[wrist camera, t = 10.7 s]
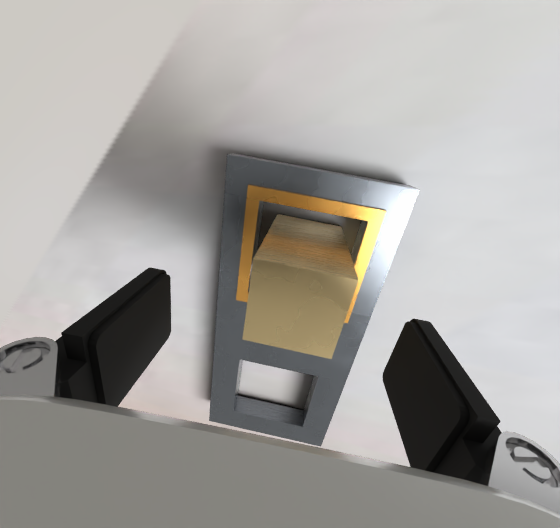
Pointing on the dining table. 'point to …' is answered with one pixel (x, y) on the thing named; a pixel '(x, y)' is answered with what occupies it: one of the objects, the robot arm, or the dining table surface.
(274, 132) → the dining table surface
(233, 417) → the socket plate
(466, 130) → the dining table surface
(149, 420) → the robot arm
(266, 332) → the brass plug
